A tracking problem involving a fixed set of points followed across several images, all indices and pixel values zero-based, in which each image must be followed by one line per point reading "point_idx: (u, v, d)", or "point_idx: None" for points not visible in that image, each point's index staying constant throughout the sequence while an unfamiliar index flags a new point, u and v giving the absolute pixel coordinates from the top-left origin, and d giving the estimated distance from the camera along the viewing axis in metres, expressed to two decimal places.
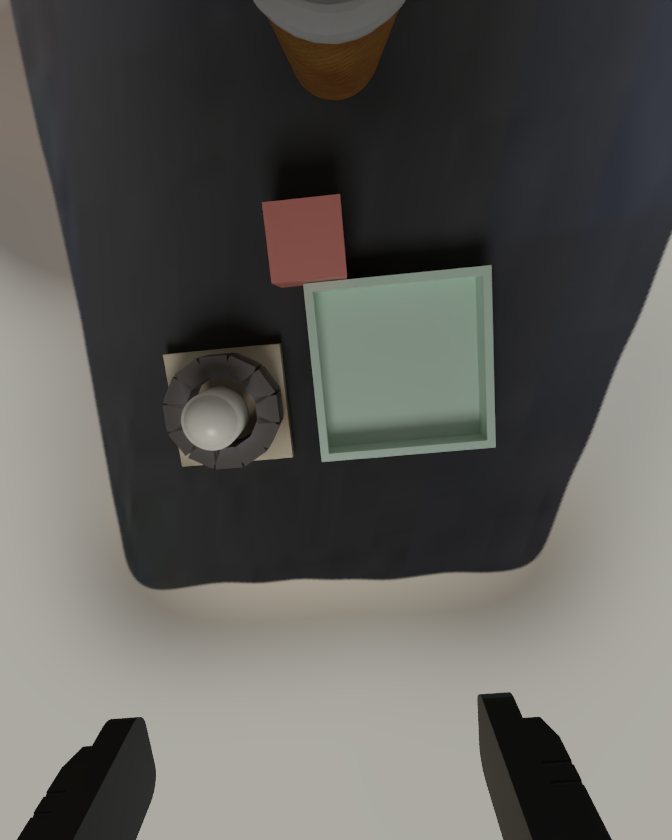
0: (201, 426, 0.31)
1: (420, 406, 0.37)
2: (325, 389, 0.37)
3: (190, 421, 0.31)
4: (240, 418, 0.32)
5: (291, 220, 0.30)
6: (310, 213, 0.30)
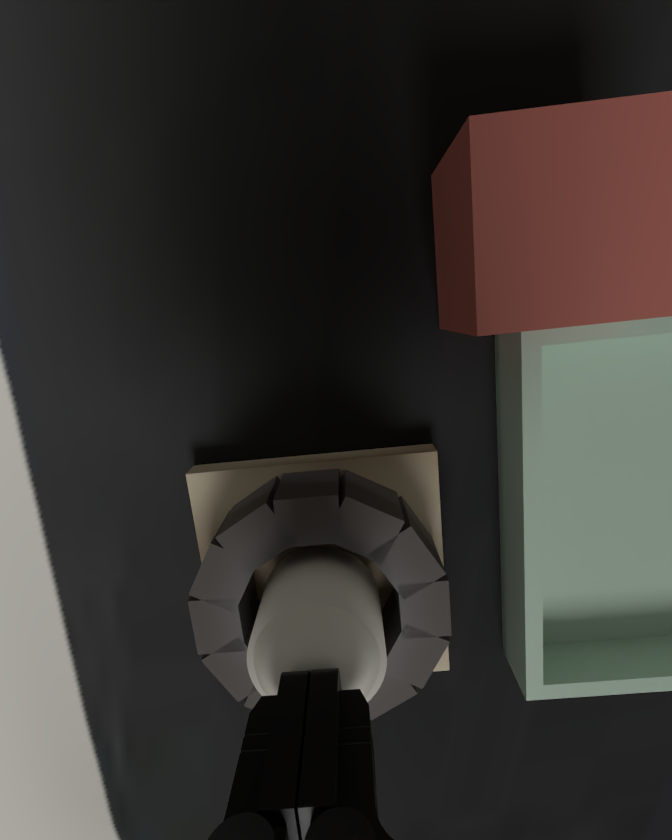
0: None
1: None
2: None
3: (274, 676, 0.13)
4: (385, 650, 0.14)
5: (546, 168, 0.11)
6: (602, 147, 0.11)
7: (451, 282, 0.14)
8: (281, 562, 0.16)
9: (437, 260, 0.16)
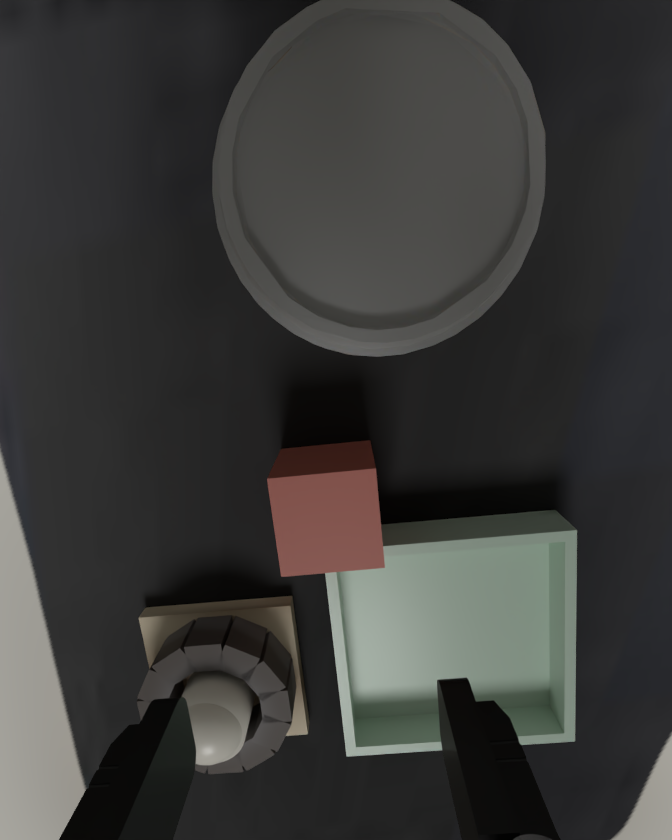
0: None
1: (472, 674, 0.29)
2: (350, 654, 0.29)
3: None
4: (245, 725, 0.25)
5: (307, 501, 0.22)
6: (334, 492, 0.22)
7: None
8: None
9: None
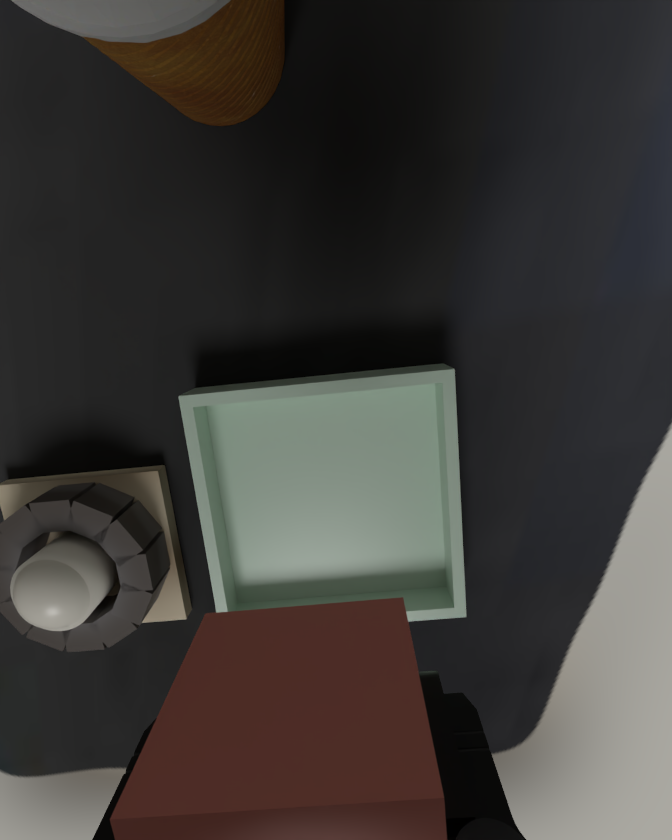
0: (30, 609, 0.22)
1: (361, 550, 0.27)
2: (228, 528, 0.26)
3: (17, 600, 0.22)
4: (94, 588, 0.23)
5: None
6: None
7: None
8: (55, 538, 0.25)
9: None
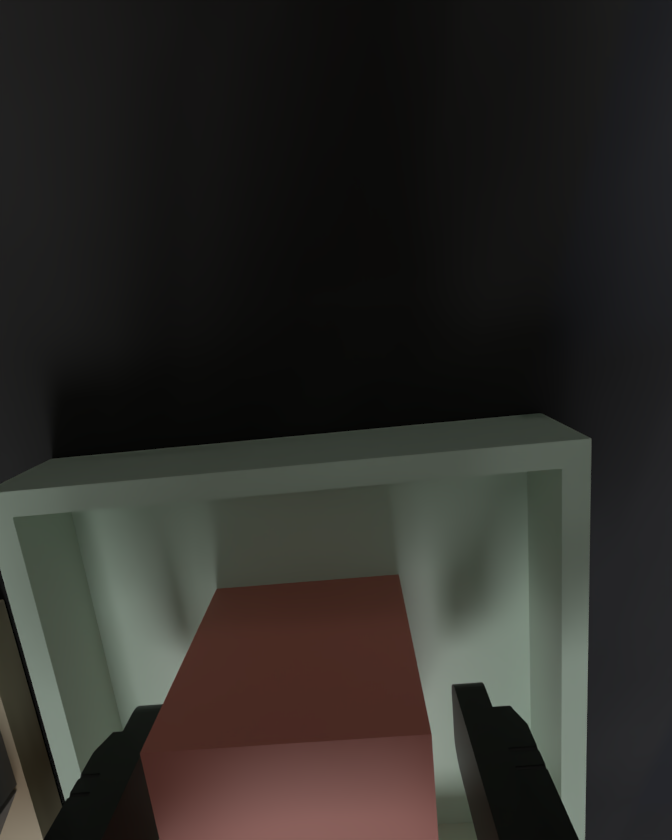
0: None
1: None
2: (124, 718, 0.14)
3: None
4: None
5: (249, 807, 0.08)
6: (319, 789, 0.08)
7: None
8: None
9: None
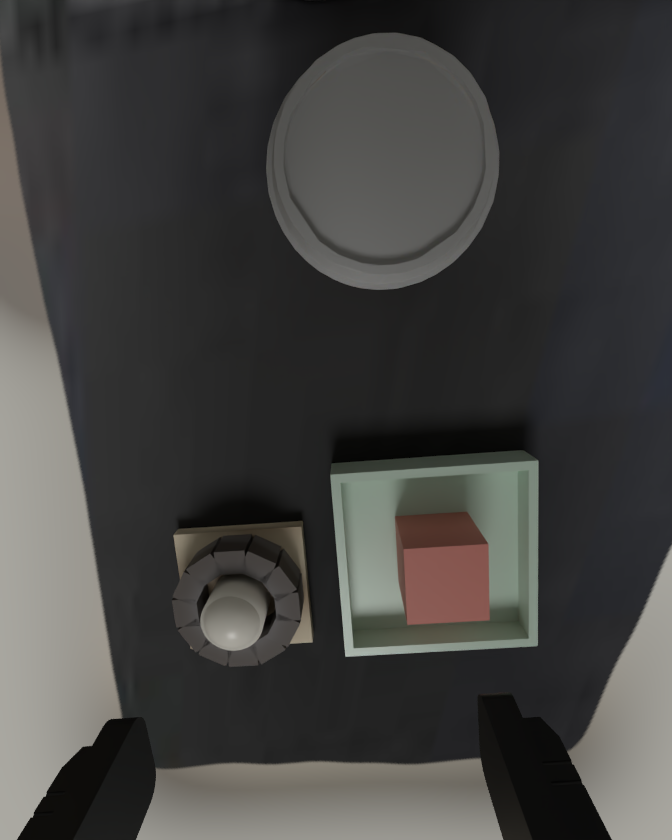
0: (222, 634, 0.29)
1: None
2: (350, 571, 0.34)
3: (210, 627, 0.29)
4: (263, 618, 0.30)
5: (433, 567, 0.28)
6: (454, 561, 0.28)
7: (401, 580, 0.31)
8: (221, 577, 0.33)
9: (397, 555, 0.33)
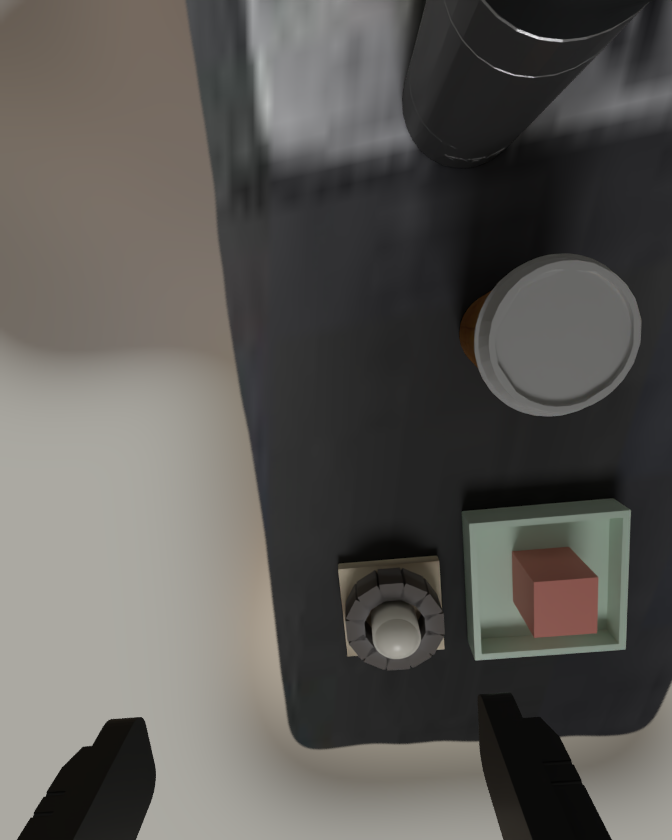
0: (394, 647, 0.38)
1: None
2: None
3: (384, 642, 0.39)
4: (420, 634, 0.40)
5: (556, 595, 0.37)
6: (572, 590, 0.37)
7: (522, 602, 0.41)
8: None
9: (514, 581, 0.42)
